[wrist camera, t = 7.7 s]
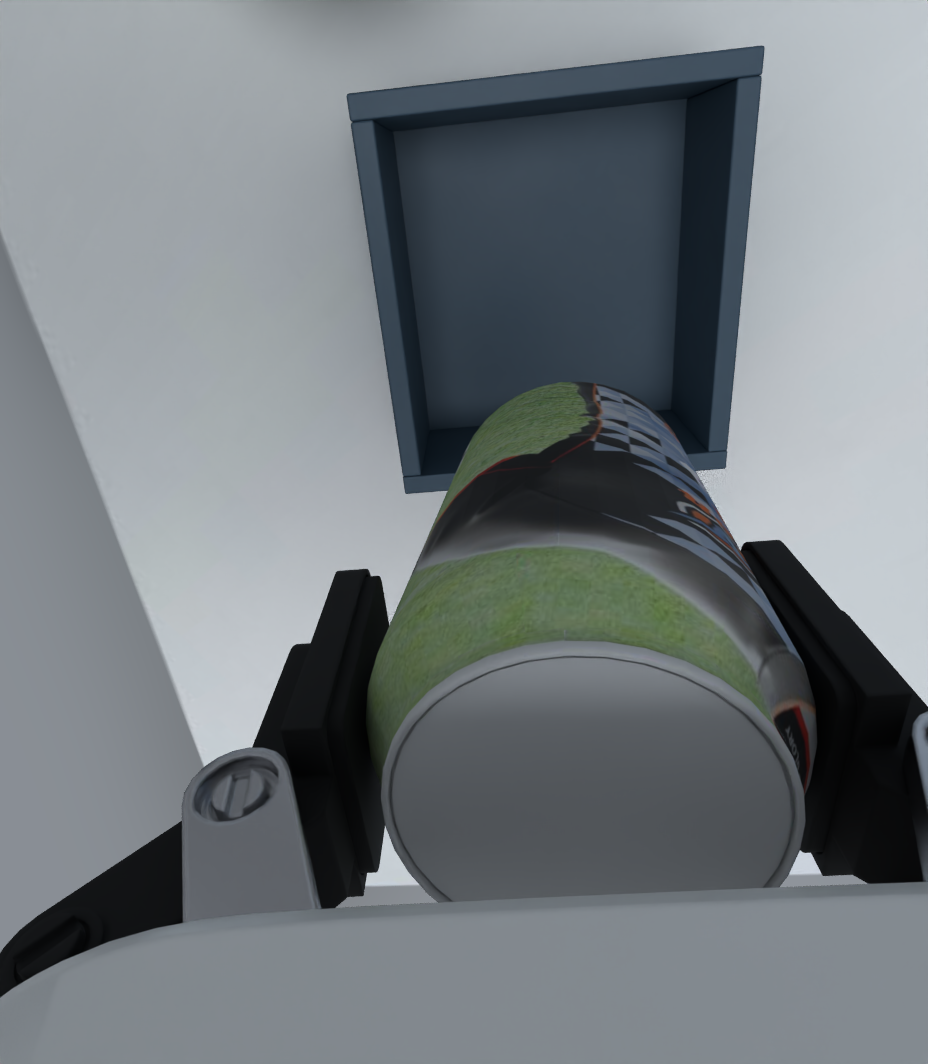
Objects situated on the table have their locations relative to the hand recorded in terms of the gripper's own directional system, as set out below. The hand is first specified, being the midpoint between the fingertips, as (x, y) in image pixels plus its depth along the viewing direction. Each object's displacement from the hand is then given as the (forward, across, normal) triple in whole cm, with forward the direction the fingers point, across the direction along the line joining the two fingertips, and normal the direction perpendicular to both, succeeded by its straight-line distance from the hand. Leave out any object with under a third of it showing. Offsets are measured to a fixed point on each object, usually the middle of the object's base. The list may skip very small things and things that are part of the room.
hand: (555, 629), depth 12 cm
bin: (+23, -2, -3) cm, 23 cm away
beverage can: (+7, 0, 0) cm, 7 cm away
